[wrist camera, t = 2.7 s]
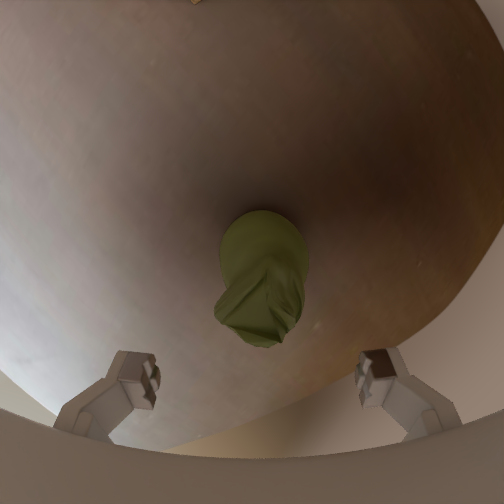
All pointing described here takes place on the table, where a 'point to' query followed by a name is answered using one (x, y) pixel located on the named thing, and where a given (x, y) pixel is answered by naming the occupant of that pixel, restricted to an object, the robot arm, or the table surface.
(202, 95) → the table surface
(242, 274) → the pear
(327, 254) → the table surface
